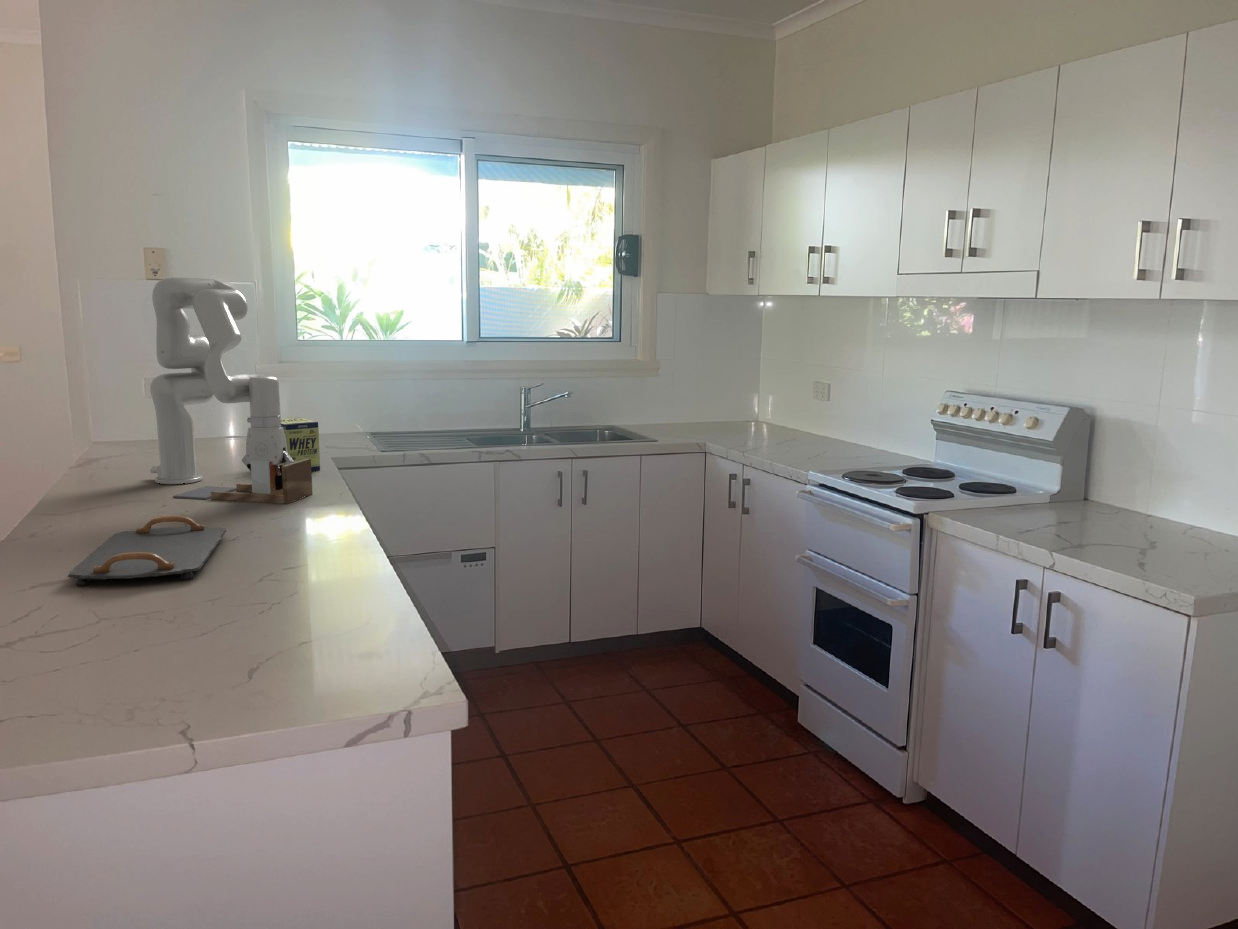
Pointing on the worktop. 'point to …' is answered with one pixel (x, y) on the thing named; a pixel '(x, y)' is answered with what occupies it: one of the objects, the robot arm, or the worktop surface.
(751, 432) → the worktop surface
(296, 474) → the lane rack
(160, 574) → the serving board
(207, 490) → the mat
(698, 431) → the worktop surface
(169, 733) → the worktop surface
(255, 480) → the small box
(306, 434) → the protein box
